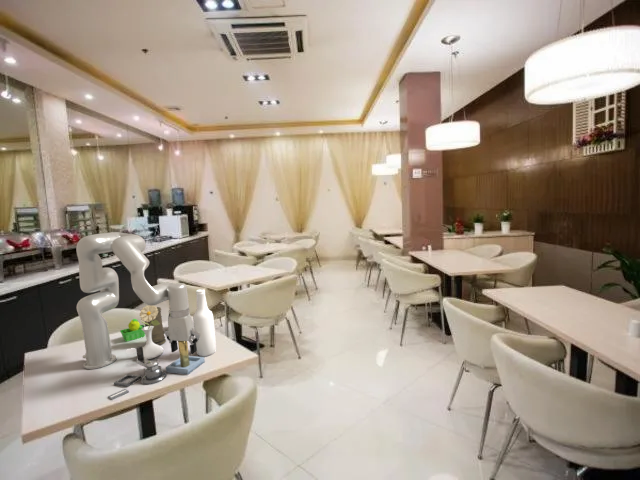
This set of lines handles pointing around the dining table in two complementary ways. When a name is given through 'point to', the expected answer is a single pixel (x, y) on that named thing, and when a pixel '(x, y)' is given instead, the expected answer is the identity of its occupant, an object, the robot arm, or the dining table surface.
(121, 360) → the dining table surface
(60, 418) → the dining table surface
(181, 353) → the peg
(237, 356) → the dining table surface
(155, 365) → the crank
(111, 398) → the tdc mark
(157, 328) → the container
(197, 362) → the tray
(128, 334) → the fruit basket
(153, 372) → the crank housing
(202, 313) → the alcohol
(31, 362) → the dining table surface
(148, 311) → the flower in vase
